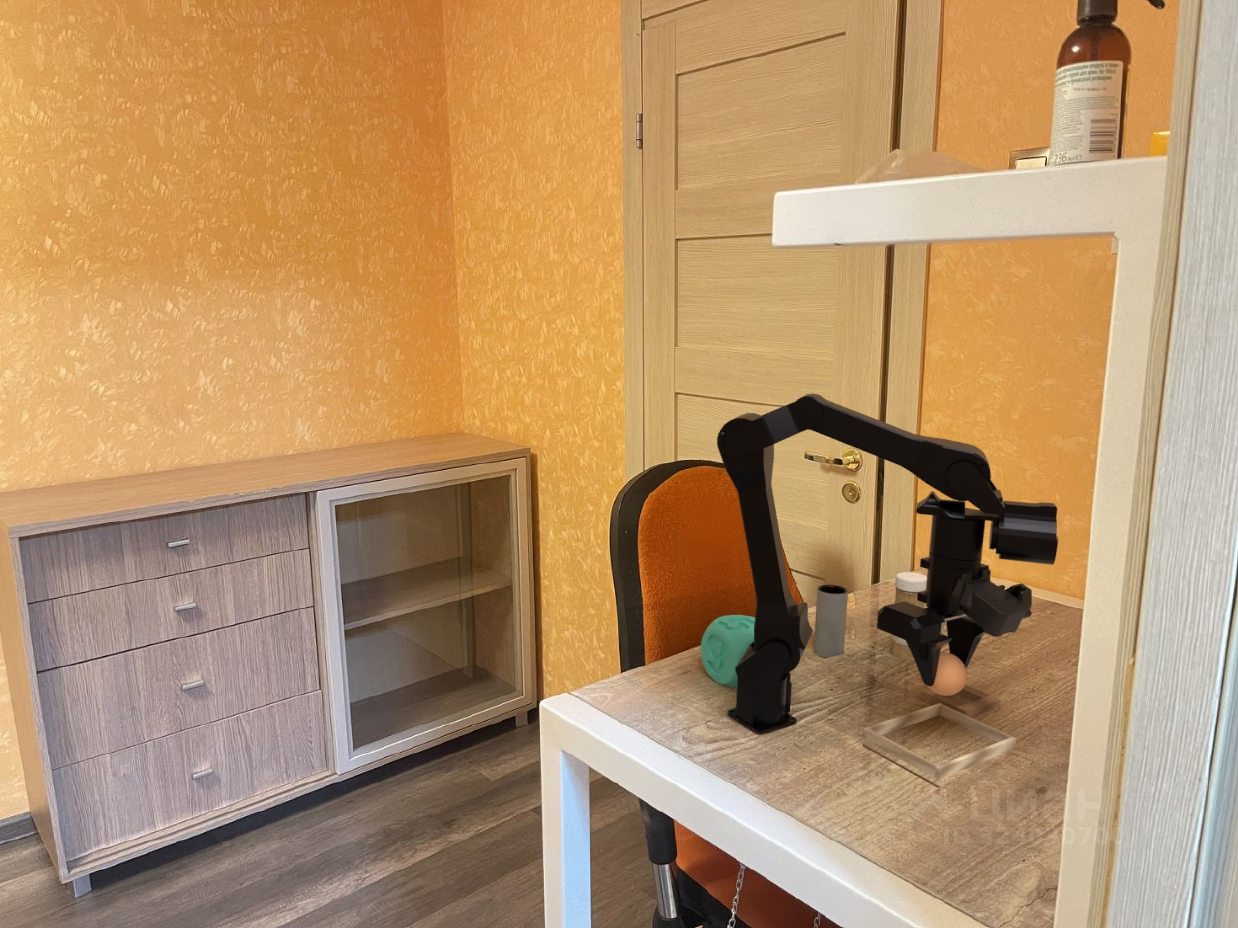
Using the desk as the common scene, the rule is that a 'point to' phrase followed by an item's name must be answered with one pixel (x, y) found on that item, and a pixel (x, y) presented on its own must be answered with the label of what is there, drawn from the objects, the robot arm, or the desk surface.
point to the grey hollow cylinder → (830, 620)
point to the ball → (949, 675)
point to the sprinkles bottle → (908, 591)
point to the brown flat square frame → (977, 707)
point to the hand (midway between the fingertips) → (943, 680)
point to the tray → (930, 768)
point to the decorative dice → (726, 646)
